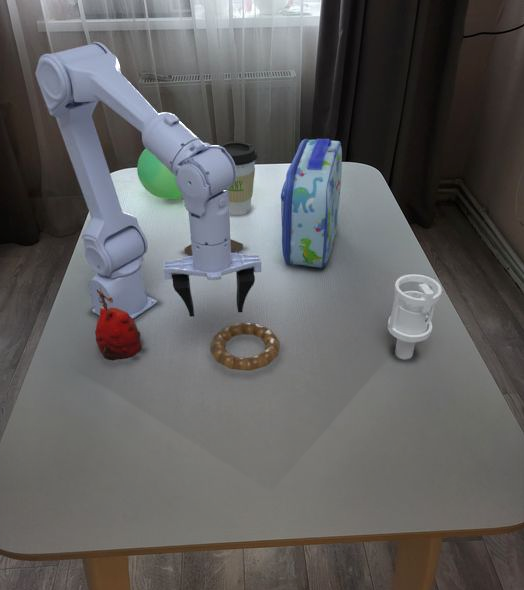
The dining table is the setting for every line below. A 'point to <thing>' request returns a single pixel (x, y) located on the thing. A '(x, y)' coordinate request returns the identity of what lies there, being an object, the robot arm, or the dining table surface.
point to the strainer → (412, 313)
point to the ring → (245, 363)
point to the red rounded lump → (116, 332)
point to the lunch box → (311, 203)
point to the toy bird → (157, 177)
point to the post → (234, 247)
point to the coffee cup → (241, 176)
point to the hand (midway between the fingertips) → (215, 310)
